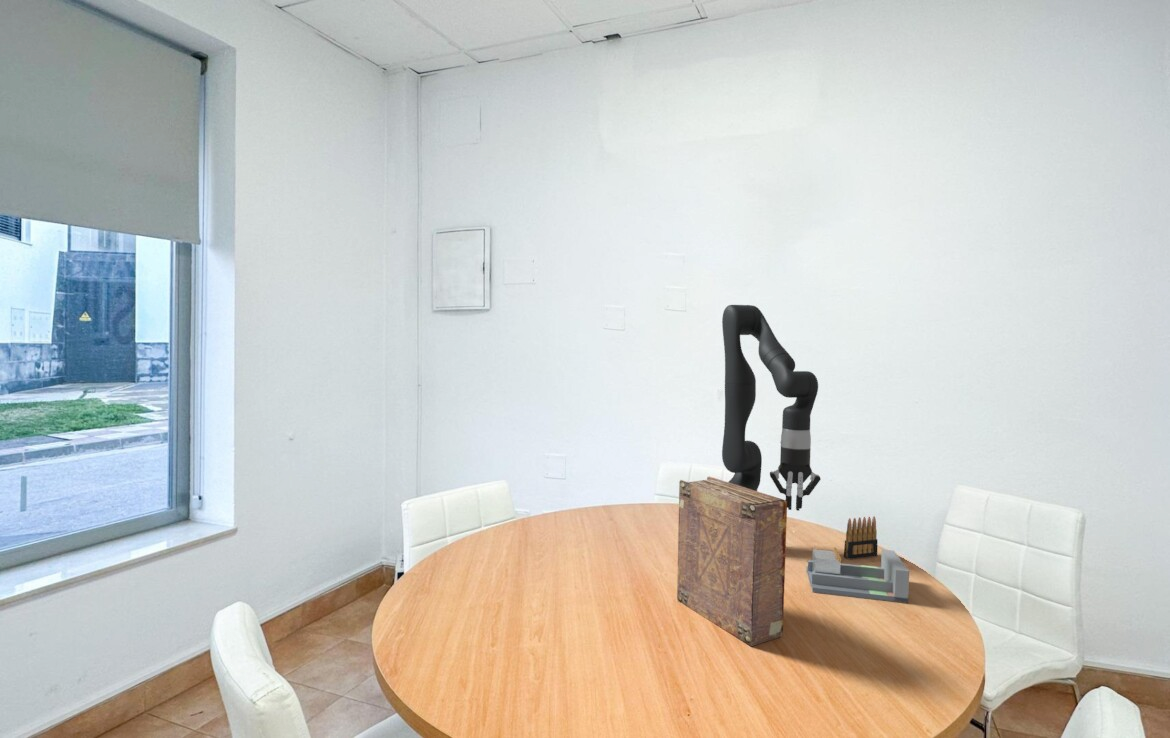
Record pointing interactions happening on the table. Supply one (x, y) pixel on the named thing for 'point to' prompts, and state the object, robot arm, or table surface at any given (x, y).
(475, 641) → the table surface
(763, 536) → the book
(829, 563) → the plunger
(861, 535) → the ammunition clip
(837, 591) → the base
